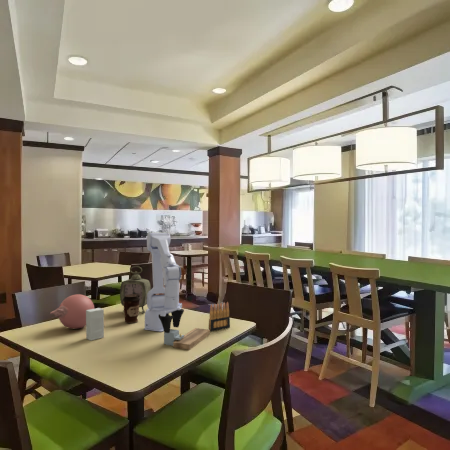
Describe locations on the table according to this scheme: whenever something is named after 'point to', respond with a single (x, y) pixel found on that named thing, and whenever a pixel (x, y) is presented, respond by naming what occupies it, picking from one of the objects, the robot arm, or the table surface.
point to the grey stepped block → (172, 337)
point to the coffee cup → (131, 308)
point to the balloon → (74, 311)
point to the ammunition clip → (219, 317)
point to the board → (191, 338)
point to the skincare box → (94, 324)
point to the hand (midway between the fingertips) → (171, 329)
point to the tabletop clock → (135, 288)
